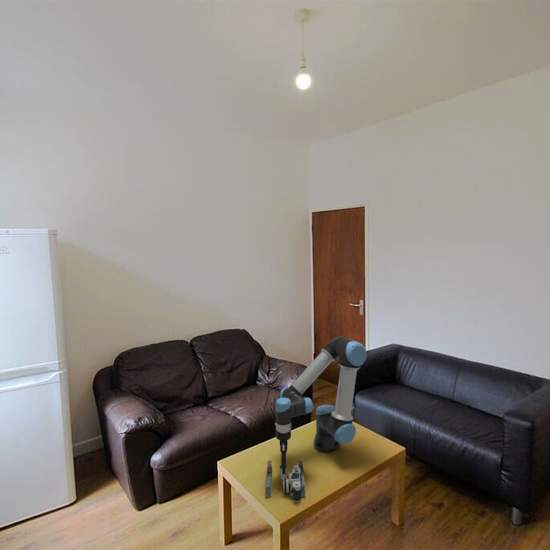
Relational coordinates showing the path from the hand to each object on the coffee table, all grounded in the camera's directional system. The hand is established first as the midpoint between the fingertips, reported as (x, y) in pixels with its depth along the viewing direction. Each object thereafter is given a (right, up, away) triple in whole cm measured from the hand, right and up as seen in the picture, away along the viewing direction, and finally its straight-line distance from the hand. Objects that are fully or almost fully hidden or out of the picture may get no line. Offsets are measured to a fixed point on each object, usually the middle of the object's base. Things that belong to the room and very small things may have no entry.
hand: (283, 470), depth 182 cm
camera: (+4, -4, -10) cm, 12 cm away
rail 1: (-7, -4, -4) cm, 9 cm away
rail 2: (+9, -4, -4) cm, 10 cm away
